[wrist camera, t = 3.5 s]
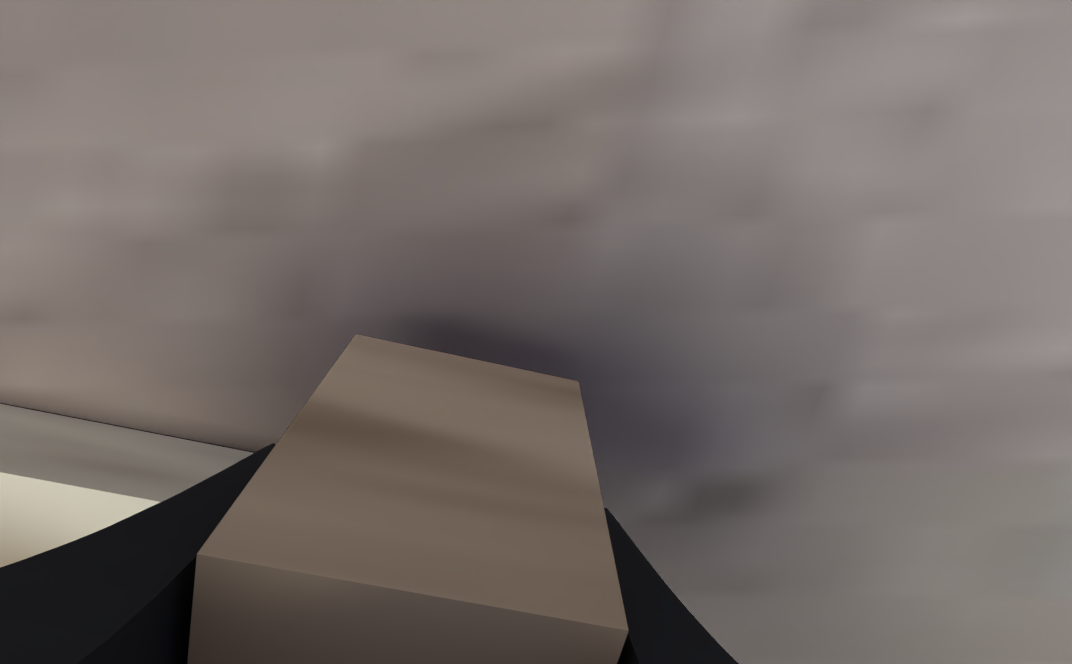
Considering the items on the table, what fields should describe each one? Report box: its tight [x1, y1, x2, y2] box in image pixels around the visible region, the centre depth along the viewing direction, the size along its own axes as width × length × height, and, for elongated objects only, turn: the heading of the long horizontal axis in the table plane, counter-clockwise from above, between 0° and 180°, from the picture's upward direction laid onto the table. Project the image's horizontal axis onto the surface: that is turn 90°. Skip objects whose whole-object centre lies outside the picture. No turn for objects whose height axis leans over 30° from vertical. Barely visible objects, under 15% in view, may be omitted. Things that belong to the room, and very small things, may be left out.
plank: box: [0, 404, 253, 567], centre depth 16 cm, size 7×14×2 cm, turn 77°
